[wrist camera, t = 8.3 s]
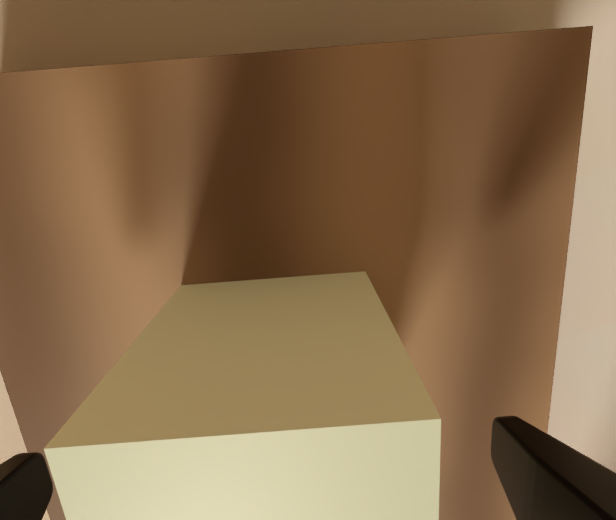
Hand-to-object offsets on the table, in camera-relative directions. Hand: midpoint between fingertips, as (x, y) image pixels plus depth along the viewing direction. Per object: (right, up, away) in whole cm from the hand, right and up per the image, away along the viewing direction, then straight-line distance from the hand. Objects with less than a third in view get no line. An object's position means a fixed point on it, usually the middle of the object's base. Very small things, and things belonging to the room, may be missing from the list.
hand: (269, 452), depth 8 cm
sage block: (0, +1, +3) cm, 4 cm away
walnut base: (0, +2, +6) cm, 7 cm away
